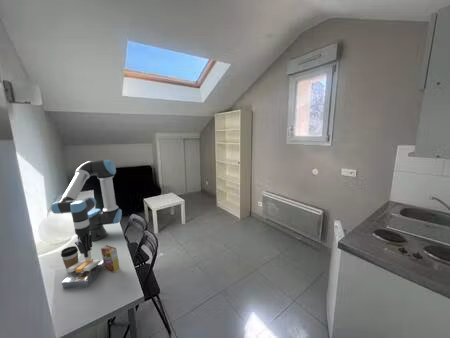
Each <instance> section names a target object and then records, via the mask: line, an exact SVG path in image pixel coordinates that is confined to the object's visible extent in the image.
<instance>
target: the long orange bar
mask: <svg viewBox="0 0 450 338" xmlns="http://www.w3.org/2000/svg"><path fill="white" fill-rule="evenodd" d="M91 259H92V260H91V261H85V262H84V263H83V264H82V265H80V266H79V267H78V268H77V269H75V270H76V272H82V271H83V270H84V267H86V266H87V265H88V264H90V263H91V262H93V260H94V258H91Z"/></svg>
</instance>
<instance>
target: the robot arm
mask: <svg viewBox="0 0 450 338" xmlns="http://www.w3.org/2000/svg"><path fill="white" fill-rule="evenodd" d="M116 168H117V167H116V164H115V162H114V161H113V160H111V159H103V160H88V161H86V162H84V163H82V164H80V166H78V167H77V168H76V170H75V172H74V176H73V178H72V180H71V181H70V183H69V185H68V187H67V188H66V189H65V192H64V193H63V195H62V197H61V199H60V200H59V201H54V202H53V203H52V204H51V209H50V210H51V211H52V213H53V214H55V215H56V214H57V215H58V214H62V215H63V214H68V213H71V218H72V222H73V227H74V232H75V235H77V241H75V242H74V245H76V247H77V249H78V252H79V253H80V254H81V255H82V254H83V257H84V260H85V261H91V260H92V259H93V258H92V255H91V253H92V252H91V251H92V250H93V242H97V241H100V240H102V239H104V238H106V237H107V235H108V233H107V230H106V228H105V227H104V225H114V224H119V223H120V221H121V219H122V217H123V216H122V215H123V213H122V212H123V211H122V209H121V208H119V206H118V205H117V202H116V195H115V189H114V183H113V182H114V181H113V178H114V177H115V175H116V173H117V169H116ZM92 176H96V177H97V179H98V180H99V183H100V189H101V190H100V191H101V196H102V202H103V208H102V210H101V208H95V206H96V205H97V200H96V199H95V198H94V197H91V196H89V197H86V198H83V199H77V198H78V196H79V195H80V193H81V192H82V189H83V187H84V185H85V183H86V181H87V180H88V179H90V177H92ZM94 208H95V209H94Z"/></svg>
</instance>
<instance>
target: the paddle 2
mask: <svg viewBox="0 0 450 338" xmlns="http://www.w3.org/2000/svg"><path fill="white" fill-rule="evenodd" d="M93 260H94V261H93V262H91V263H90V264H88V265H87V266H86V267H84V271H89V270H91V269H92V268H94V267H95V266H96V265H98V264H99V263H100V262H101V260H102V259H93Z"/></svg>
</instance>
